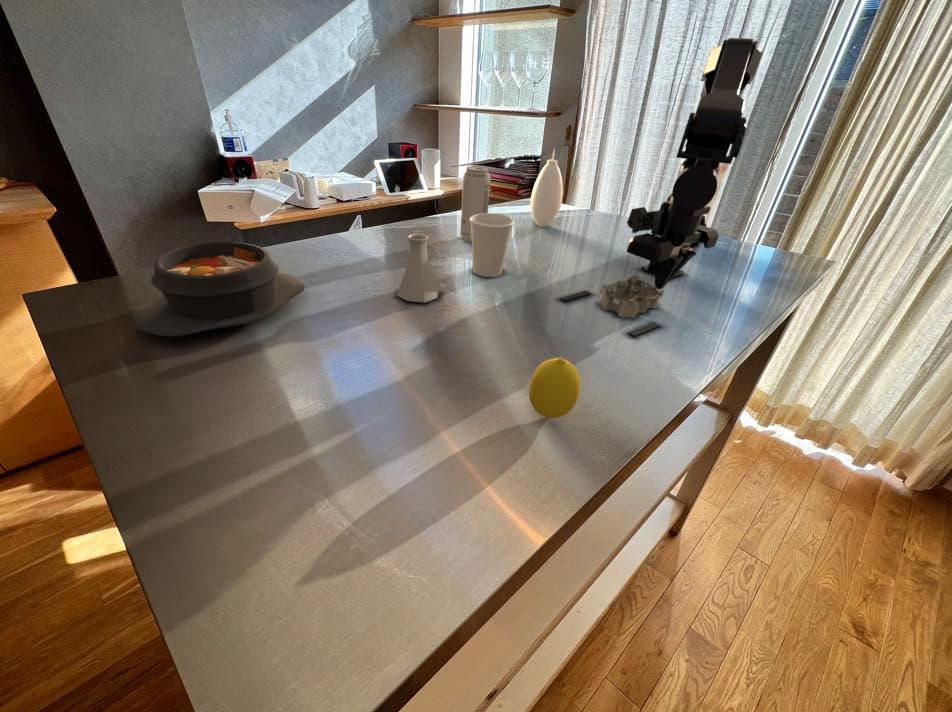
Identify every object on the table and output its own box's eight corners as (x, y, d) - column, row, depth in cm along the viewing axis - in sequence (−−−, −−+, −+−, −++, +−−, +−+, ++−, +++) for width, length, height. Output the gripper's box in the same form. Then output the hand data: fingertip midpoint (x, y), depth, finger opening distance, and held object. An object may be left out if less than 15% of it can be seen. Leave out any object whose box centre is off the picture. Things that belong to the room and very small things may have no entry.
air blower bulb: (526, 228, 114) (537, 148, 103) (528, 220, 120) (538, 144, 109) (557, 231, 113) (571, 151, 102) (556, 223, 119) (570, 146, 108)
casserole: (262, 273, 81) (251, 226, 76) (332, 302, 73) (325, 252, 68) (112, 320, 64) (85, 264, 59) (181, 364, 56) (157, 303, 51)
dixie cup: (486, 282, 83) (492, 228, 77) (457, 269, 88) (460, 216, 82) (516, 273, 88) (524, 221, 82) (487, 261, 93) (492, 210, 87)
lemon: (520, 402, 54) (530, 345, 49) (564, 402, 54) (578, 345, 49) (529, 432, 49) (541, 373, 45) (577, 432, 50) (594, 373, 45)
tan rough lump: (626, 321, 73) (634, 298, 71) (591, 304, 78) (597, 282, 76) (663, 307, 79) (671, 285, 76) (628, 292, 83) (634, 271, 81)
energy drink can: (461, 234, 107) (465, 164, 98) (486, 236, 106) (492, 167, 97) (458, 241, 102) (461, 169, 93) (484, 244, 102) (490, 171, 92)
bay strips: (585, 292, 82) (586, 290, 82) (659, 326, 72) (660, 325, 72) (559, 299, 79) (559, 298, 79) (633, 337, 69) (634, 335, 69)
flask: (446, 292, 79) (448, 235, 73) (426, 307, 74) (427, 246, 68) (410, 283, 81) (410, 227, 75) (389, 297, 76) (386, 238, 70)
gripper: (677, 183, 82) (650, 266, 91) (613, 192, 73) (591, 282, 82) (736, 196, 75) (700, 284, 84) (673, 208, 66) (641, 305, 75)
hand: (658, 288), depth 82 cm, fingers closed
